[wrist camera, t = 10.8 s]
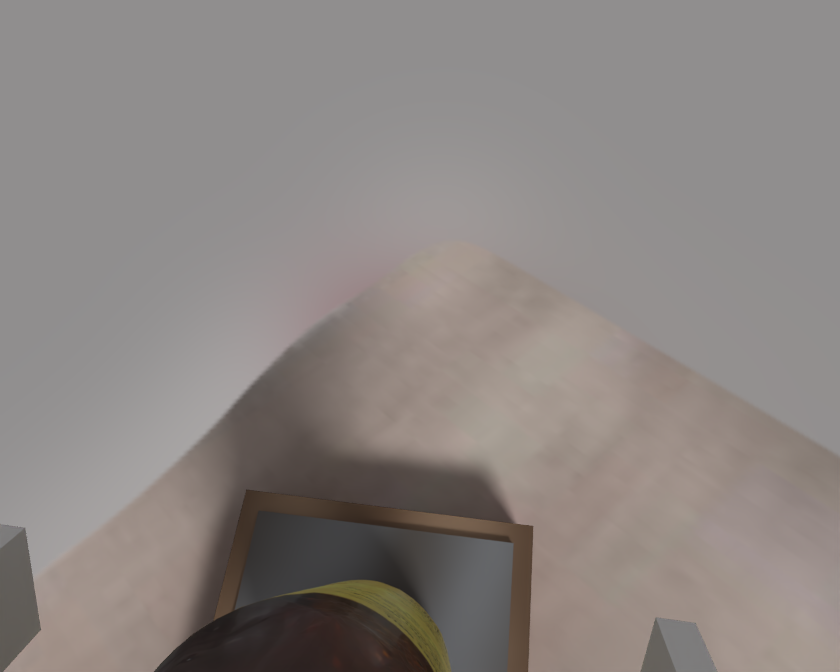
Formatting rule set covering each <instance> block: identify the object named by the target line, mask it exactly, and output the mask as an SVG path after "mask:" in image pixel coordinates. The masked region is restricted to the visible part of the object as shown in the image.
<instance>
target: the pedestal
mask: <svg viewBox="0 0 840 672" xmlns="http://www.w3.org/2000/svg"><path fill="white" fill-rule="evenodd" d="M532 545H533V526H529V525H521V524H513V523H505V522H497V521H489V520H481V519H473V518H466V517H458V516H450V515H442V514H434V513H426V512H418V511H410V510H402V509H394V508H387V507H379V506H371V505H363V504H355V503H347V502H339V501H331V500H323V499H315V498H308V497H300V496H292V495H284V494H276V493H268V492H260V491H252V490H246V494H245V498H244V501H243V505H242V509H241V513H240V517H239V521H238V525H237V529H236V533H235V537H234V541H233V545H232V549H231V553H230V557H229V561H228V565H227V569H226V573H225V577H224V581H223V585H222V588H221V592H220V596H219V600H218V604H217V608H216V612H215V616H214V620H216V619H217V618H219V617H222V616H224V615H226V614H228V613H230V612H232V611H234V610H236V609H238V608H240V607H243V606H246V605H249V604H252V603H255V602H258V601H261V600H265V599H269V598H272V597H276V596H280V595H284V594H288V593H293V592H297V591H302V590H306V589H311V588H316V587H320V586H324V585H328V584H332V583H337V582H343V581H349V580H372V581H378V582H382V583H384V584H387V585H390V586H392V587H395V588H397V589H399V590H401V591H403V592H404V593H406V594H407V595H409V596H410V597H411V598H413V599H414V600H415V601H416V602H417V603H418V604H420V606H421V607H422V608H423V609H424V610H425V611H426V612H427V613H428V615H429V616H430V617H431V619H432V620H433V621H434V622H435V624H436V625H437V627H438V629H439V630H440V632H441V634H442V637H443V640H444V643H445V646H446V648H447V652H448V657H449V662H450V667H451V672H528V658H529V630H530V602H531V574H532ZM214 620H213V621H214Z"/></svg>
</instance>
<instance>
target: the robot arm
mask: <svg viewBox="0 0 840 672" xmlns="http://www.w3.org/2000/svg"><path fill="white" fill-rule="evenodd" d="M40 630H41V628H40V621H39V615H38V608H37V602H36V595H35V589H34V582H33V576H32V569H31V563H30V556H29V550H28V543H27V537H26V531H25V528H22V527H15V526H9V525H1V524H0V672H3V671H4V670H5V669H6V668H7V667H8V665H9V664H10V663H11V662H12V661H13V660H14V659H15V658H16V657H17V655H18V654H19V653H20V652H21V651H22V650H23V649H24V648H25V647H26V645H27V644H28V643H29V642H30V641H31V640H32V639H33V638H34V637H35V636H36V634H37V633H38V632H39V631H40ZM641 672H717V670H716V667H715V665H714V663H713V661H712V659H711V656H710V654H709V652H708V650H707V648H706V645H705V643H704V641H703V639H702V637H701V634H700V632H699V630H698V628H697V626H696V623H692V622H685V621H678V620H670V619H663V618H655V622H654V626H653V629H652V633H651V636H650V640H649V644H648V647H647V651H646V654H645V658H644V662H643V665H642V669H641Z"/></svg>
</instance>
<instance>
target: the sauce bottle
mask: <svg viewBox="0 0 840 672" xmlns="http://www.w3.org/2000/svg"><path fill="white" fill-rule="evenodd" d="M154 672H451V667H450V662H449V657H448V652H447V648H446V646H445V643H444V640H443V637H442V634H441V632H440V630H439V629H438V627H437V625H436V624H435V622H434V621H433V620H432V619H431V617H430V616H429V615H428V613H427V612H426V611H425V610H424V609H423V608H422V607H421V606H420V604H418V603H417V602H416V601H415V600H414V599H413V598H411V597H410V596H409V595H407V594H406V593H404V592H403V591H401V590H399V589H397V588H395V587H392V586H390V585H387V584H384V583H382V582H378V581H372V580H349V581H343V582H337V583H332V584H328V585H324V586H320V587H316V588H311V589H306V590H302V591H297V592H293V593H288V594H284V595H280V596H276V597H272V598H269V599H265V600H261V601H258V602H255V603H252V604H249V605H246V606H243V607H240V608H238V609H236V610H234V611H232V612H230V613H228V614H226V615H224V616H222V617H219V618H217V619H216V620H214V621H213V622H211V623H210V624H208V625H207V626H205V627H203V628H202V629H200V630H199V631H197V632H196V633H194V634H193V635H192V636H190V637H189V638H188V639H187V640H186V641H185V642H183V643H182V644H181V645H180V646H179V647H177V648H176V649H175V650H174V651H173V652H172V653H171V654H170V655H169V656H168V657H167V658H166V659H165V660H164V661H163V662H162V663H161V664H160V665H159V667H158V668H157V669H156V670H155V671H154Z"/></svg>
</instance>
